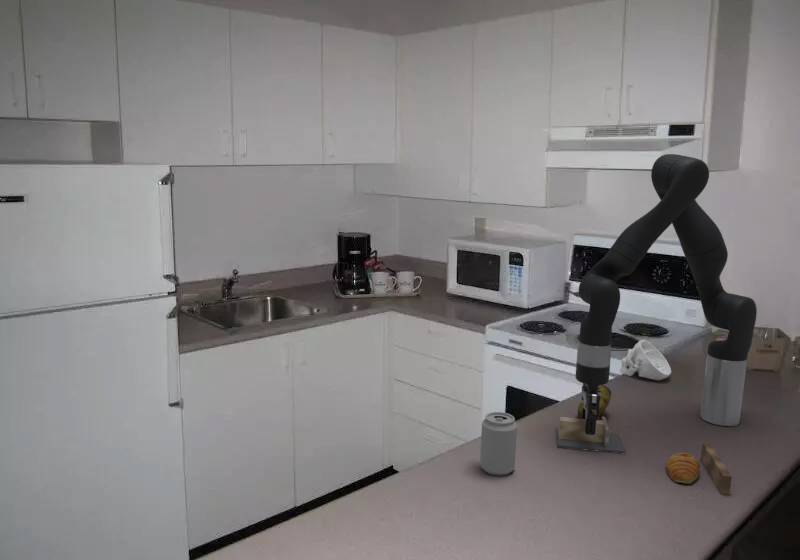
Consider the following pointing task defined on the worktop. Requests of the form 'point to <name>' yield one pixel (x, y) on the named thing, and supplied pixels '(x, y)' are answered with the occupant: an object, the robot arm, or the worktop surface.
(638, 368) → the skull bowl
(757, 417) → the worktop surface
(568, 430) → the scraper
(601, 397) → the potato
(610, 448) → the mat
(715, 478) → the rail
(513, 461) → the can
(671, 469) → the pastry
